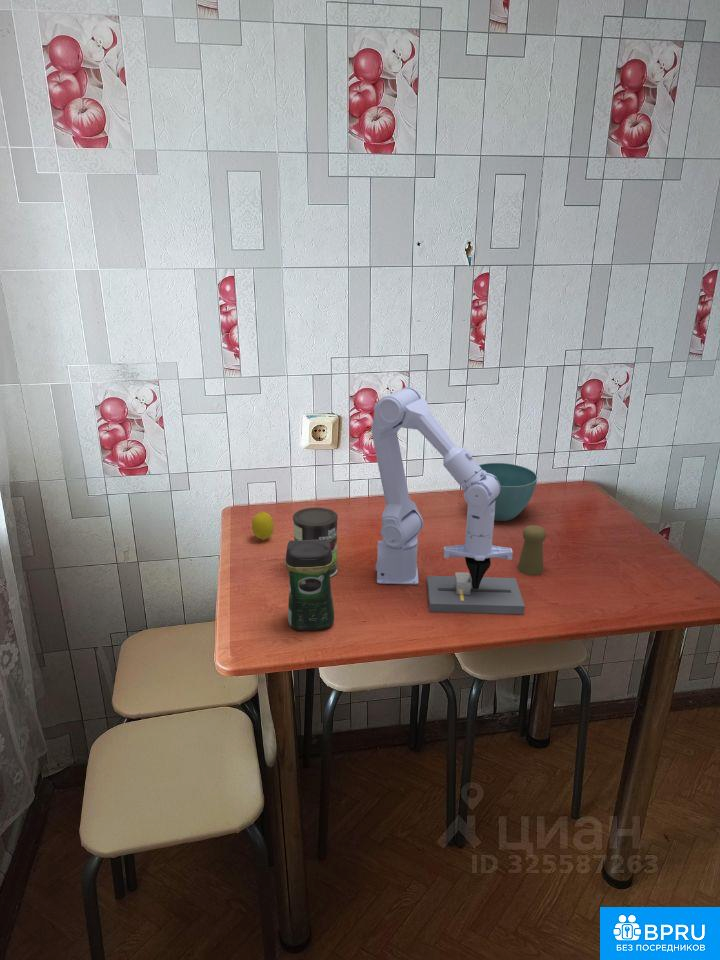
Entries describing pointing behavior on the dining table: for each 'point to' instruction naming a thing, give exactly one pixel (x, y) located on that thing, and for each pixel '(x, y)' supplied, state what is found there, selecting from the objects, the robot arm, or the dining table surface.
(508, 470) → the teal bowl
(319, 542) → the coffee jar
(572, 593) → the dining table surface
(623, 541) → the dining table surface
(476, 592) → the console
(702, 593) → the dining table surface
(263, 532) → the lemon
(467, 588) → the fader
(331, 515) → the coffee can
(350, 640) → the dining table surface
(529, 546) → the cork
